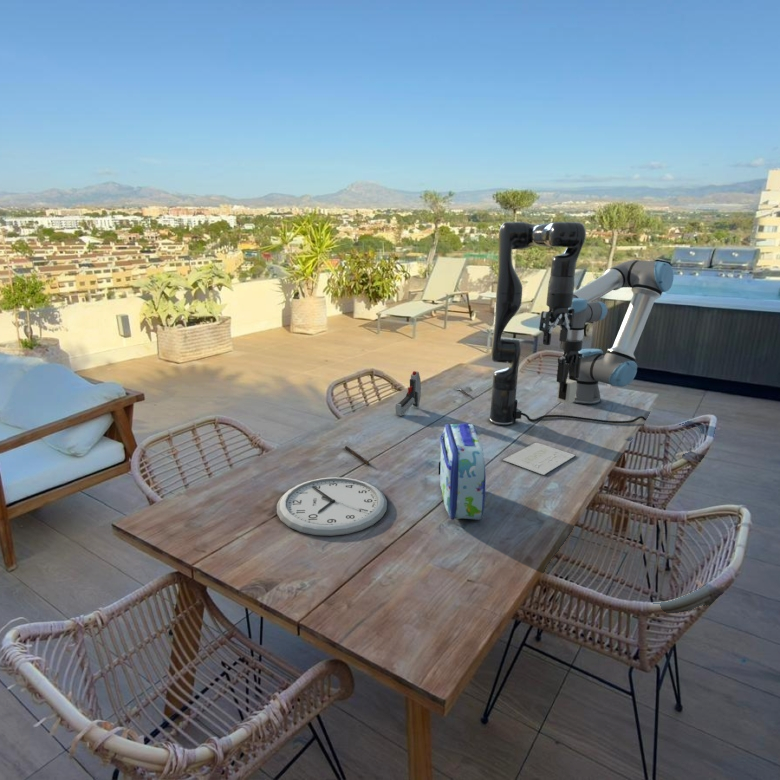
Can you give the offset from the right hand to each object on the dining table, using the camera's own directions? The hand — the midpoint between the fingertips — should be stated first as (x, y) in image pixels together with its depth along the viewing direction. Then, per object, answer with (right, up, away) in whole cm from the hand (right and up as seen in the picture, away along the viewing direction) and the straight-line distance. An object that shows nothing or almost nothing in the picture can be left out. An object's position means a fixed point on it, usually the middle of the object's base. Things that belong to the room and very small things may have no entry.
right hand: (565, 397), depth 207 cm
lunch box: (-50, -28, -61) cm, 84 cm away
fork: (-36, +2, +36) cm, 51 cm away
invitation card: (-20, -20, -32) cm, 43 cm away
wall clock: (-85, -29, -64) cm, 110 cm away
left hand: (-18, +18, -43) cm, 49 cm away
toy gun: (-62, -6, +10) cm, 63 cm away
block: (0, -2, 0) cm, 2 cm away
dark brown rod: (-81, -19, -33) cm, 89 cm away
